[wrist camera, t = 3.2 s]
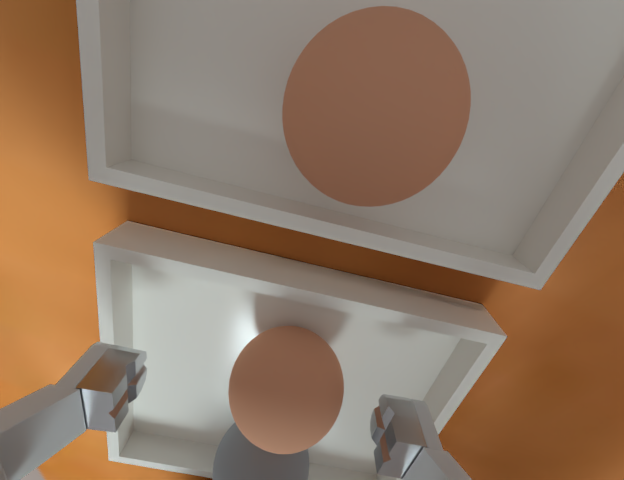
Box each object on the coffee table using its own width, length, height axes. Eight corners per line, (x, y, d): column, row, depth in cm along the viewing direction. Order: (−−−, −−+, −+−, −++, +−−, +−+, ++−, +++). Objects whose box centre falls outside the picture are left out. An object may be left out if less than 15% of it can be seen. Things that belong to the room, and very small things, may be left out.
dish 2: (380, 469, 17) (386, 508, 15) (130, 423, 16) (108, 460, 14) (482, 304, 12) (507, 336, 10) (127, 220, 11) (93, 241, 9)
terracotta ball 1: (325, 384, 13) (327, 490, 10) (237, 366, 13) (205, 469, 9) (353, 315, 12) (367, 413, 8) (252, 293, 11) (219, 384, 8)
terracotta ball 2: (400, 196, 10) (448, 255, 6) (278, 164, 9) (250, 206, 6) (456, 55, 8) (571, 16, 4) (309, 10, 8) (299, -72, 4)
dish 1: (508, 262, 11) (540, 290, 9) (126, 167, 10) (88, 180, 8) (815, -233, 6) (994, -354, 4) (116, -534, 5) (16, -842, 3)
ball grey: (300, 449, 15) (293, 556, 12) (223, 435, 15) (193, 540, 11) (320, 399, 14) (319, 506, 10) (234, 382, 13) (202, 486, 10)
